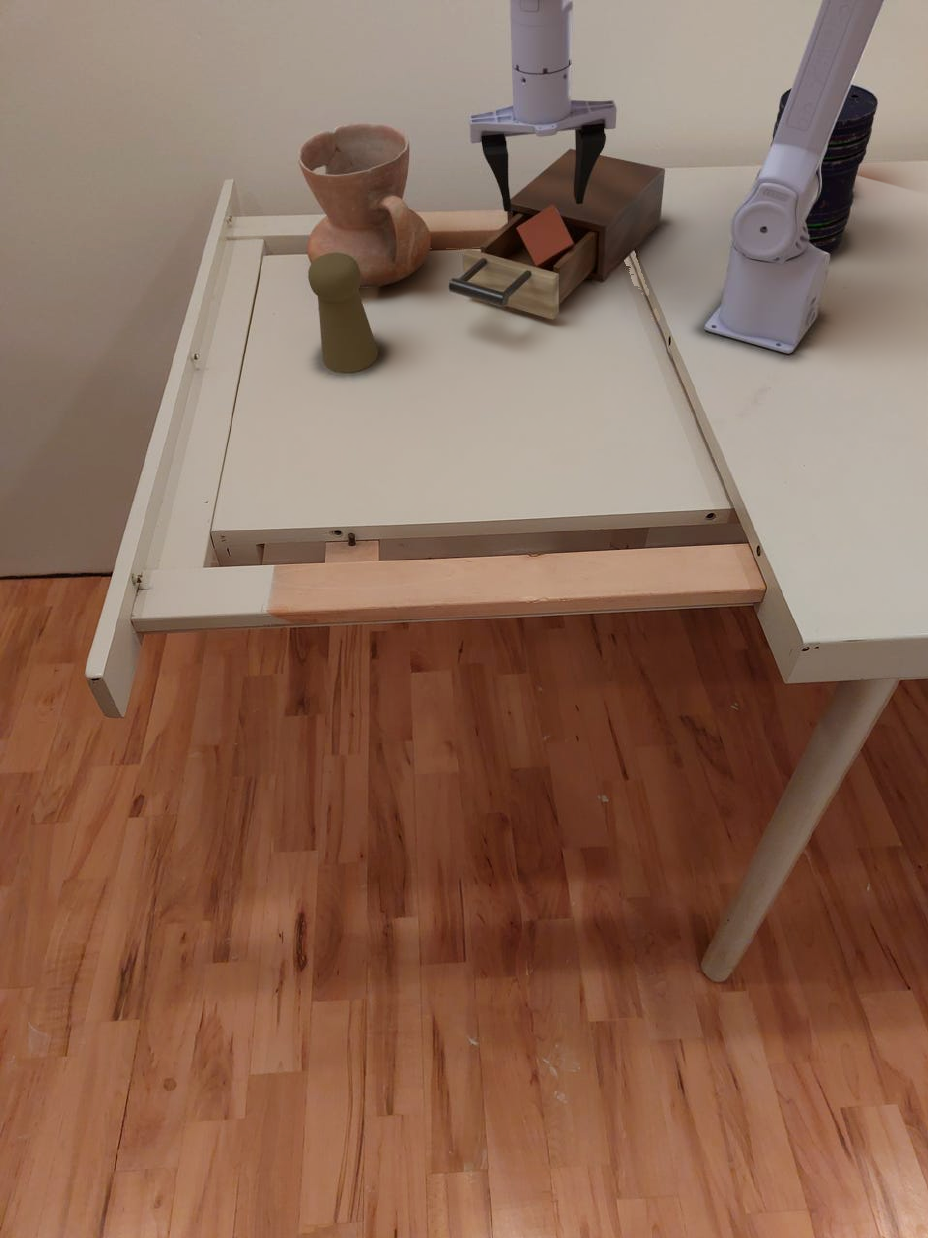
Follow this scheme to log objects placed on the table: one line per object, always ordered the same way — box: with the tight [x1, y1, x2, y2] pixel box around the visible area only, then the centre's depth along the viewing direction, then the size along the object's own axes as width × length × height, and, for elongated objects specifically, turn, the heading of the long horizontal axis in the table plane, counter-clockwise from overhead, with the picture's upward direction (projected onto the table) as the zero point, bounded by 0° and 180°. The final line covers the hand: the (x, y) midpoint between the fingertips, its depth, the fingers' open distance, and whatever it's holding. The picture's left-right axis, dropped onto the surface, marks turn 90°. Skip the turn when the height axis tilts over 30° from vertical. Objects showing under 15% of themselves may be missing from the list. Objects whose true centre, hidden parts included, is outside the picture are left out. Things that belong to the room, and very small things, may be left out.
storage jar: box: [769, 85, 879, 255], centre depth 99 cm, size 10×10×15 cm
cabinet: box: [506, 148, 666, 283], centre depth 105 cm, size 15×13×7 cm
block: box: [517, 204, 575, 269], centre depth 98 cm, size 4×4×4 cm
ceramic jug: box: [297, 122, 432, 289], centre depth 102 cm, size 18×14×14 cm
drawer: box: [448, 212, 599, 320], centre depth 98 cm, size 20×11×5 cm, turn 146°
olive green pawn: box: [307, 253, 379, 374], centre depth 92 cm, size 6×6×11 cm
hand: (542, 203), depth 96 cm, fingers open, 7 cm apart
